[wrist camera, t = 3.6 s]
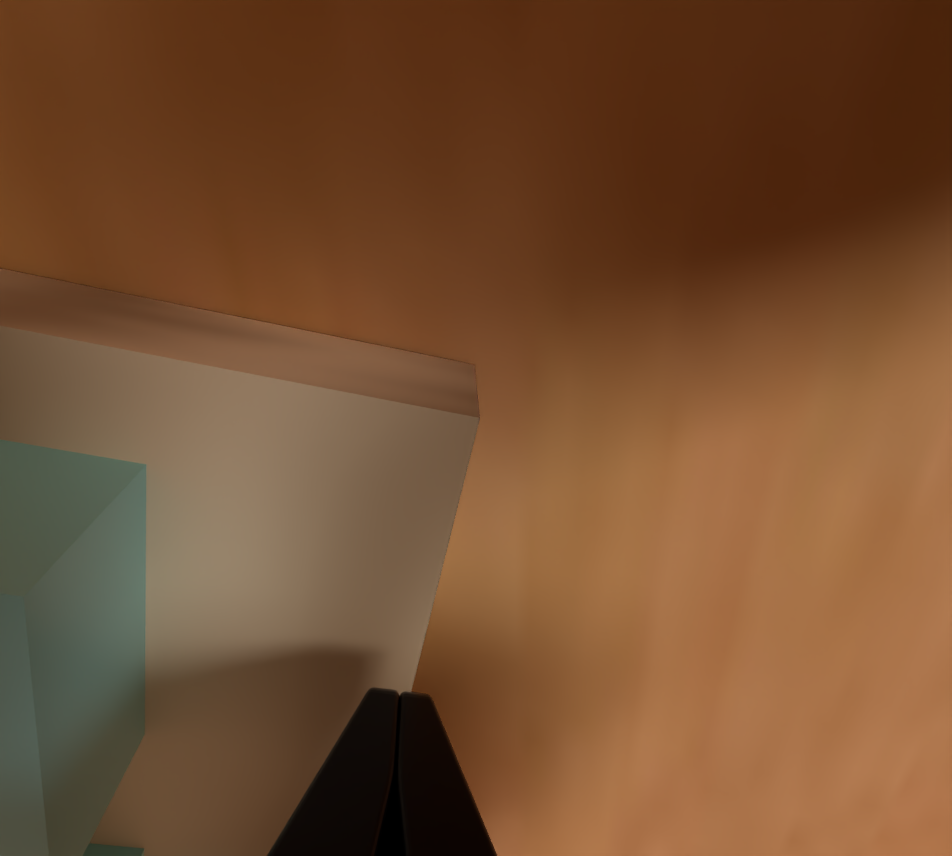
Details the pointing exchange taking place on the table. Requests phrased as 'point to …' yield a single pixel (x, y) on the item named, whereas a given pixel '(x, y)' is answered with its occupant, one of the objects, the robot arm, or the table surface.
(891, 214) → the table surface
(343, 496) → the bench plate
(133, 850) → the tile
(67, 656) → the tile
